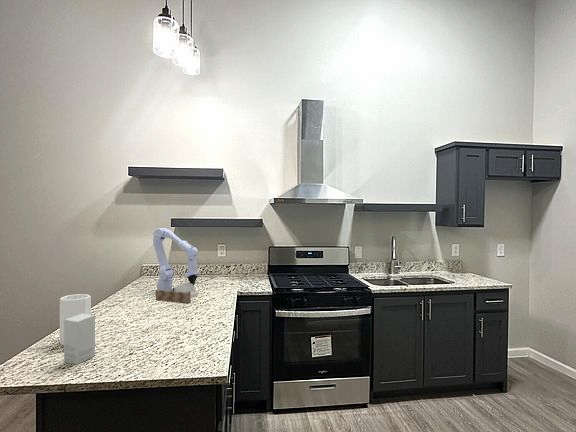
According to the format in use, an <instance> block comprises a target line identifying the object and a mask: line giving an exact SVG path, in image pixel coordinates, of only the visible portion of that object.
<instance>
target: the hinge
mask: <svg viewBox="0 0 576 432" xmlns="http://www.w3.org/2000/svg"><path fill="white" fill-rule="evenodd" d="M172 291H178V292H188V291H190V293H191V298H193V297H198V292H197V291H196V289H195V285H193V284H192V283H189V282H183V283H178V284H177V285H175V286H174V287H172Z"/></svg>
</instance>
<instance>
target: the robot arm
mask: <svg viewBox="0 0 576 432" xmlns="http://www.w3.org/2000/svg"><path fill="white" fill-rule="evenodd" d="M152 234H153V239H152V240H153V241H152V243H153V246H154V250H155V253H156V258H157V261H158V264H159V270H158V278H159V279H158V281H157V283H156V290H167V291H169V290H172V288H173V278H174V276H175V272H174V270H173V269H172V266H171V265H170V264H169V262H168V257H167V255H166V252H165V248H164V244H163V242H164V240H165V239H170V240H171V241H173V242H174V243H176V245H178V248H179V249H181V250H182V251H183V252H184V253H185V254H186V256H187V272H186V273H184V278H187V279H188V281H189V282H188V283H192V284H193V285H194V286H195V284H196V281H197V278H198V275H200V273H201V272H200V270H198V255H199V249H198V248H197V247H195V246H193V245H191V243H189V242H188V240H182V239H181V238H180V237H178V236H177V234H175V233H174V232H173V231H172V230H170V229H169V228H167V227H157V228H156V229H155V230H154V232H153V233H152Z"/></svg>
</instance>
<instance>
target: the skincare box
mask: <svg viewBox="0 0 576 432" xmlns="http://www.w3.org/2000/svg"><path fill="white" fill-rule="evenodd" d="M95 345H96V315H95V314H92V313H91V314H79V315H77V316H74V317H71V318H68V319H65V320H64V346H63V362H64V363H67V364H73V365H79V364H81V363H83V362H86V361H87V360H89V359H91V358H93V357H95V356H96V346H95Z"/></svg>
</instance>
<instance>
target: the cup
mask: <svg viewBox="0 0 576 432" xmlns="http://www.w3.org/2000/svg"><path fill="white" fill-rule="evenodd" d="M91 307H92V296H91V295H89V294H86V293H85V294H84V293H83V294H80V293H78V294H69V295H65V296H61V297H60V298H59V344H60V345H61V346H63V347H64V320H65V319H68V318H71V317H74V316H77V315H79V314H91V315H92V308H91Z"/></svg>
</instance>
